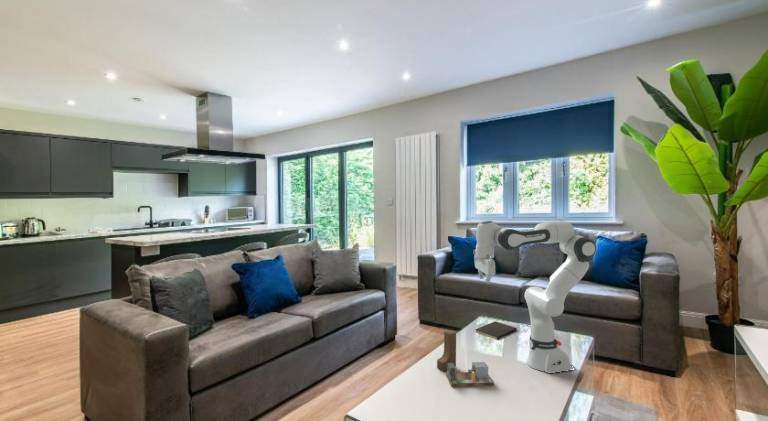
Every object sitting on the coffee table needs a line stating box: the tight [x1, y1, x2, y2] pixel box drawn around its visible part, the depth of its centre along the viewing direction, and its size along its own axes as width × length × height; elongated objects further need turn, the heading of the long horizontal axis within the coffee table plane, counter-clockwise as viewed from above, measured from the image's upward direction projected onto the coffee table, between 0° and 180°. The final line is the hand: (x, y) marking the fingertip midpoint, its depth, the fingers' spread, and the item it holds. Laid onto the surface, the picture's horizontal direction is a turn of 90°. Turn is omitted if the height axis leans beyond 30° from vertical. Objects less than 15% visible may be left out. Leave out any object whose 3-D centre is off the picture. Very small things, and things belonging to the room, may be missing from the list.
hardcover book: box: [474, 320, 518, 341], centre depth 228 cm, size 16×23×2 cm
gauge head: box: [467, 361, 489, 382], centre depth 166 cm, size 8×8×6 cm
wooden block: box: [436, 329, 457, 372], centre depth 179 cm, size 9×4×18 cm, turn 122°
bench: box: [445, 363, 495, 388], centre depth 167 cm, size 20×10×8 cm, turn 94°
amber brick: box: [472, 371, 475, 382], centre depth 163 cm, size 1×2×4 cm, turn 4°
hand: (484, 280), depth 177 cm, fingers open, 8 cm apart
